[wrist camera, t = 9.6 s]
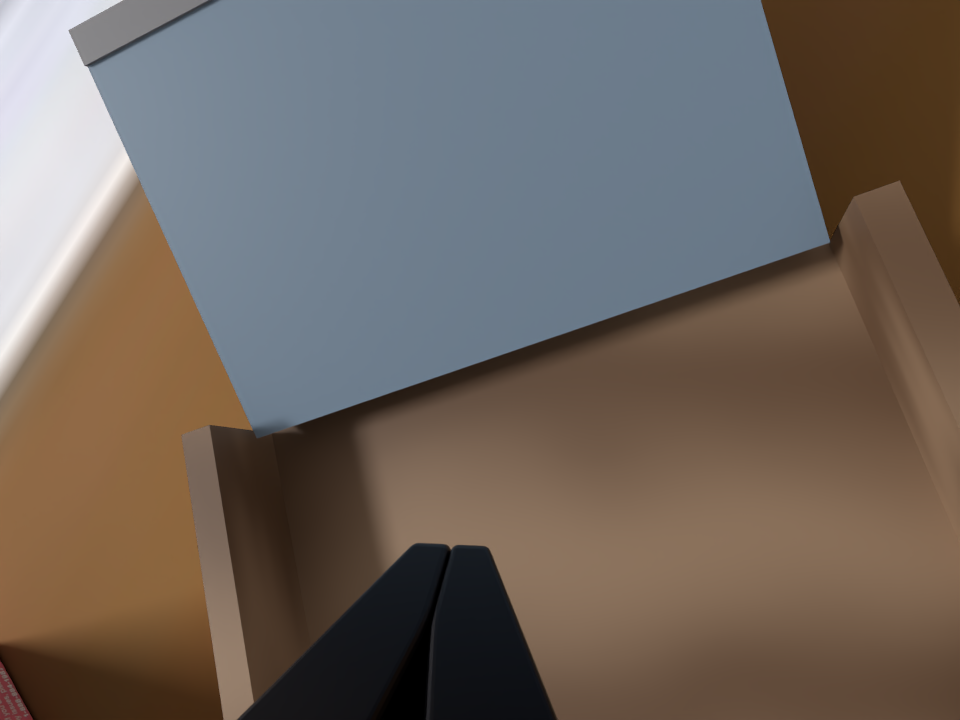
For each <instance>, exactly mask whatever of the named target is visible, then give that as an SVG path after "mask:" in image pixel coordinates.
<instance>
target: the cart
mask: <svg viewBox="0 0 960 720" xmlns="http://www.w3.org/2000/svg"><path fill="white" fill-rule="evenodd" d="M182 442H183V449H184V455H185V462H186V469H187V476H188V482H189V489H190V496H191V503H192V509H193V516H194V523H195V530H196V536H197V543H198V550H199V557H200V563H201V570H202V577H203V584H204V590H205V597H206V604H207V611H208V617H209V624H210V631H211V638H212V644H213V651H214V658H215V665H216V671H217V678H218V685H219V692H220V698H221V705H222V712H223V719H224V720H237V719H238V718H239V717H240V716H241V715H242V714H243V713H244V712H245V711H246V710H247V709H248V708H249V707H250V706H251V705H252V704H253V703H254V702H255V701H256V700H257V699H258V698H259V697H260V696H261V695H262V694H263V693H264V692H265V691H266V690H267V689H268V688H269V687H270V686H271V685H272V684H273V683H274V682H275V681H276V680H277V679H278V678H279V677H280V676H281V675H282V674H283V673H284V672H285V671H286V670H287V669H288V668H289V667H290V666H291V665H292V664H293V663H294V662H295V661H296V660H297V659H298V658H299V657H300V656H301V655H302V654H303V653H304V652H305V651H306V650H307V649H308V648H309V647H310V646H311V645H312V644H313V643H314V642H315V641H316V640H317V639H318V638H319V637H320V636H321V635H322V634H323V633H324V632H325V631H326V630H327V629H328V628H329V627H330V626H331V625H332V624H333V623H334V622H335V621H336V620H337V619H338V618H339V617H340V616H341V615H342V614H343V613H344V612H345V611H346V610H347V609H348V608H349V607H350V606H351V605H352V604H353V603H354V602H355V601H356V600H357V599H358V598H359V597H360V596H361V595H362V594H363V593H364V592H365V591H366V590H367V589H368V588H369V587H370V586H371V585H372V584H373V583H374V582H375V581H376V580H377V579H378V578H379V577H380V576H381V575H382V574H383V573H384V572H385V571H386V570H387V569H388V568H389V567H390V566H391V565H392V564H393V563H394V562H395V561H396V560H397V559H398V558H399V557H400V556H401V555H402V554H403V553H404V552H405V551H406V550H407V549H408V548H409V547H411V546H412V545H414V544H416V543H435V544H447V545H448V546H449V547H450V549H452V548H453V547H454V546H455V545H478V546H486V547H488V548H489V550H490V551H491V553H492V556H493V558H494V561H495V563H496V566H497V568H498V571H499V573H500V576H501V578H502V581H503V583H504V586H505V588H506V591H507V593H508V596H509V598H510V601H511V603H512V606H513V608H514V611H515V613H516V616H517V618H518V621H519V623H520V626H521V628H522V631H523V633H524V636H525V638H526V641H527V643H528V646H529V648H530V651H531V653H532V656H533V658H534V661H535V663H536V666H537V668H538V671H539V673H540V676H541V678H542V681H543V683H544V686H545V688H546V691H547V693H548V696H549V698H550V701H551V704H552V706H553V709H554V711H555V714H556V716H557V719H558V720H960V306H959V303H958V301H957V299H956V297H955V295H954V293H953V291H952V289H951V287H950V285H949V283H948V280H947V278H946V276H945V274H944V272H943V270H942V268H941V266H940V264H939V262H938V260H937V257H936V255H935V253H934V251H933V249H932V247H931V245H930V243H929V241H928V239H927V237H926V234H925V232H924V230H923V228H922V226H921V224H920V222H919V220H918V218H917V216H916V214H915V211H914V209H913V207H912V205H911V203H910V201H909V199H908V197H907V195H906V193H905V191H904V188H903V186H902V184H901V182H900V180H899V181H897V182H894V183H891V184H888V185H885V186H883V187H880V188H877V189H874V190H871V191H868V192H866V193H863V194H860V195H857V196H854V197H853V199H852V201H851V203H850V204H849V206H848V208H847V210H846V212H845V214H844V216H843V217H842V219H841V221H840V223H839V225H838V227H837V228H836V230H835V232H834V234H833V236H832V238H831V239H830V243H827V244H824V245H821V246H818V247H815V248H812V249H809V250H807V251H804V252H801V253H798V254H795V255H792V256H789V257H786V258H783V259H780V260H777V261H774V262H772V263H769V264H766V265H763V266H760V267H757V268H754V269H751V270H748V271H745V272H742V273H739V274H736V275H734V276H731V277H728V278H725V279H722V280H719V281H716V282H713V283H710V284H707V285H704V286H701V287H698V288H696V289H693V290H690V291H687V292H684V293H681V294H678V295H675V296H672V297H669V298H666V299H663V300H660V301H658V302H655V303H652V304H649V305H646V306H643V307H640V308H637V309H634V310H631V311H628V312H625V313H622V314H620V315H617V316H614V317H611V318H608V319H605V320H602V321H599V322H596V323H593V324H590V325H587V326H584V327H582V328H579V329H576V330H573V331H570V332H567V333H564V334H561V335H558V336H555V337H552V338H549V339H546V340H544V341H541V342H538V343H535V344H532V345H529V346H526V347H523V348H520V349H517V350H514V351H511V352H508V353H506V354H503V355H500V356H497V357H494V358H491V359H488V360H485V361H482V362H479V363H476V364H473V365H470V366H468V367H465V368H462V369H459V370H456V371H453V372H450V373H447V374H444V375H441V376H438V377H435V378H432V379H430V380H427V381H424V382H421V383H418V384H415V385H412V386H409V387H406V388H403V389H400V390H397V391H394V392H392V393H389V394H386V395H383V396H380V397H377V398H374V399H371V400H368V401H365V402H362V403H359V404H356V405H354V406H351V407H348V408H345V409H342V410H339V411H336V412H333V413H330V414H327V415H324V416H321V417H318V418H316V419H313V420H310V421H307V422H304V423H301V424H298V425H295V426H292V427H289V428H286V429H283V430H280V431H278V432H275V433H272V434H269V435H266V436H263V437H260V438H256V435H255V433H254V431H251V430H244V429H236V428H228V427H221V426H213V425H208V426H205V427H202V428H200V429H197V430H194V431H191V432H188V433H186V434H183V435H182Z"/></svg>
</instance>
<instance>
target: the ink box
mask: <svg viewBox="0 0 960 720" xmlns="http://www.w3.org/2000/svg"><path fill="white" fill-rule="evenodd" d="M0 720H33V719H32V717H31V715H30V713H29V711H28V710H27V708H26V706H25V704H24V703H23V701H22V699H21V697H20V695H19V694H18V692H17V690H16V688H15V686H14V684H13V682H12V680H11V679H10V677H9V675H8V673H7V672H6V670H5V668H4V666H3V664H2V663H1V661H0Z"/></svg>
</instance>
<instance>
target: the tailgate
mask: <svg viewBox="0 0 960 720" xmlns="http://www.w3.org/2000/svg"><path fill="white" fill-rule="evenodd" d="M69 33H70V35H71V37H72V39H73V41H74V44H75V46H76V48H77V50H78V52H79V55H80V57H81V59H82V61H83V63H84V65H85V66H88V68H89V70H90V73H91V75H92V77H93V79H94V81H95V84H96V86H97V88H98V90H99V92H100V95H101V97H102V99H103V101H104V103H105V106H106V108H107V110H108V112H109V114H110V117H111V119H112V121H113V123H114V125H115V128H116V130H117V132H118V134H119V136H120V139H121V141H122V143H123V145H124V147H125V150H126V152H127V154H128V156H129V158H130V161H131V163H132V165H133V167H134V169H135V172H136V174H137V176H138V178H139V180H140V183H141V185H142V187H143V189H144V191H145V194H146V196H147V198H148V200H149V202H150V205H151V207H152V209H153V211H154V213H155V215H156V218H157V220H158V222H159V224H160V226H161V229H162V231H163V233H164V235H165V237H166V240H167V242H168V244H169V246H170V248H171V251H172V253H173V255H174V257H175V259H176V262H177V264H178V266H179V268H180V270H181V273H182V275H183V277H184V279H185V281H186V284H187V286H188V288H189V290H190V292H191V295H192V297H193V299H194V301H195V303H196V306H197V308H198V310H199V312H200V314H201V317H202V319H203V321H204V323H205V325H206V328H207V330H208V332H209V334H210V336H211V339H212V341H213V343H214V345H215V347H216V350H217V352H218V354H219V356H220V358H221V361H222V363H223V365H224V367H225V369H226V372H227V374H228V376H229V378H230V380H231V383H232V385H233V387H234V389H235V391H236V394H237V396H238V398H239V400H240V402H241V405H242V407H243V409H244V411H245V413H246V416H247V418H248V420H249V422H250V424H251V427H252V429H253V431H254V433H255V435H256V438H260V437H263V436H266V435H269V434H272V433H275V432H278V431H280V430H283V429H286V428H289V427H292V426H295V425H298V424H301V423H304V422H307V421H310V420H313V419H316V418H318V417H321V416H324V415H327V414H330V413H333V412H336V411H339V410H342V409H345V408H348V407H351V406H354V405H356V404H359V403H362V402H365V401H368V400H371V399H374V398H377V397H380V396H383V395H386V394H389V393H392V392H394V391H397V390H400V389H403V388H406V387H409V386H412V385H415V384H418V383H421V382H424V381H427V380H430V379H432V378H435V377H438V376H441V375H444V374H447V373H450V372H453V371H456V370H459V369H462V368H465V367H468V366H470V365H473V364H476V363H479V362H482V361H485V360H488V359H491V358H494V357H497V356H500V355H503V354H506V353H508V352H511V351H514V350H517V349H520V348H523V347H526V346H529V345H532V344H535V343H538V342H541V341H544V340H546V339H549V338H552V337H555V336H558V335H561V334H564V333H567V332H570V331H573V330H576V329H579V328H582V327H584V326H587V325H590V324H593V323H596V322H599V321H602V320H605V319H608V318H611V317H614V316H617V315H620V314H622V313H625V312H628V311H631V310H634V309H637V308H640V307H643V306H646V305H649V304H652V303H655V302H658V301H660V300H663V299H666V298H669V297H672V296H675V295H678V294H681V293H684V292H687V291H690V290H693V289H696V288H698V287H701V286H704V285H707V284H710V283H713V282H716V281H719V280H722V279H725V278H728V277H731V276H734V275H736V274H739V273H742V272H745V271H748V270H751V269H754V268H757V267H760V266H763V265H766V264H769V263H772V262H774V261H777V260H780V259H783V258H786V257H789V256H792V255H795V254H798V253H801V252H804V251H807V250H809V249H812V248H815V247H818V246H821V245H824V244H827V243H830V240H829V236H828V233H827V229H826V226H825V222H824V219H823V215H822V212H821V208H820V205H819V201H818V198H817V194H816V191H815V188H814V184H813V181H812V177H811V174H810V170H809V167H808V163H807V160H806V156H805V153H804V149H803V146H802V142H801V139H800V135H799V132H798V128H797V125H796V121H795V118H794V115H793V111H792V108H791V104H790V101H789V97H788V94H787V90H786V87H785V83H784V80H783V76H782V73H781V69H780V66H779V62H778V59H777V55H776V52H775V49H774V45H773V42H772V38H771V35H770V31H769V28H768V24H767V21H766V17H765V14H764V10H763V7H762V3H761V0H123V1H121V2H119V3H118V4H116V5H114V6H112V7H110V8H109V9H107V10H105V11H103V12H101V13H99V14H98V15H96V16H94V17H92V18H90V19H88V20H87V21H85V22H83V23H81V24H79V25H78V26H76V27H74V28H72V29H70V30H69Z"/></svg>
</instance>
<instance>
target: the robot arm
mask: <svg viewBox="0 0 960 720" xmlns="http://www.w3.org/2000/svg"><path fill="white" fill-rule="evenodd" d="M237 720H558V719H557V716H556V714H555V711H554V709H553V706H552V704H551V701H550V698H549V696H548V693H547V691H546V688H545V686H544V683H543V681H542V678H541V676H540V673H539V671H538V668H537V666H536V663H535V661H534V658H533V656H532V653H531V651H530V648H529V646H528V643H527V641H526V638H525V636H524V633H523V631H522V628H521V626H520V623H519V621H518V618H517V616H516V613H515V611H514V608H513V606H512V603H511V601H510V598H509V596H508V593H507V591H506V588H505V586H504V583H503V581H502V578H501V576H500V573H499V571H498V568H497V566H496V563H495V561H494V558H493V556H492V553H491V551H490V550H489V548H488V547H486V546H478V545H455V546H454V547H453V548H452V549H450V547H449V546H448V545H447V544H435V543H416V544H414V545H412V546H411V547H409V548H408V549H407V550H406V551H405V552H404V553H403V554H402V555H401V556H400V557H399V558H398V559H397V560H396V561H395V562H394V563H393V564H392V565H391V566H390V567H389V568H388V569H387V570H386V571H385V572H384V573H383V574H382V575H381V576H380V577H379V578H378V579H377V580H376V581H375V582H374V583H373V584H372V585H371V586H370V587H369V588H368V589H367V590H366V591H365V592H364V593H363V594H362V595H361V596H360V597H359V598H358V599H357V600H356V601H355V602H354V603H353V604H352V605H351V606H350V607H349V608H348V609H347V610H346V611H345V612H344V613H343V614H342V615H341V616H340V617H339V618H338V619H337V620H336V621H335V622H334V623H333V624H332V625H331V626H330V627H329V628H328V629H327V630H326V631H325V632H324V633H323V634H322V635H321V636H320V637H319V638H318V639H317V640H316V641H315V642H314V643H313V644H312V645H311V646H310V647H309V648H308V649H307V650H306V651H305V652H304V653H303V654H302V655H301V656H300V657H299V658H298V659H297V660H296V661H295V662H294V663H293V664H292V665H291V666H290V667H289V668H288V669H287V670H286V671H285V672H284V673H283V674H282V675H281V676H280V677H279V678H278V679H277V680H276V681H275V682H274V683H273V684H272V685H271V686H270V687H269V688H268V689H267V690H266V691H265V692H264V693H263V694H262V695H261V696H260V697H259V698H258V699H257V700H256V701H255V702H254V703H253V704H252V705H251V706H250V707H249V708H248V709H247V710H246V711H245V712H244V713H243V714H242V715H241V716H240V717H239V718H238V719H237Z"/></svg>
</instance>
